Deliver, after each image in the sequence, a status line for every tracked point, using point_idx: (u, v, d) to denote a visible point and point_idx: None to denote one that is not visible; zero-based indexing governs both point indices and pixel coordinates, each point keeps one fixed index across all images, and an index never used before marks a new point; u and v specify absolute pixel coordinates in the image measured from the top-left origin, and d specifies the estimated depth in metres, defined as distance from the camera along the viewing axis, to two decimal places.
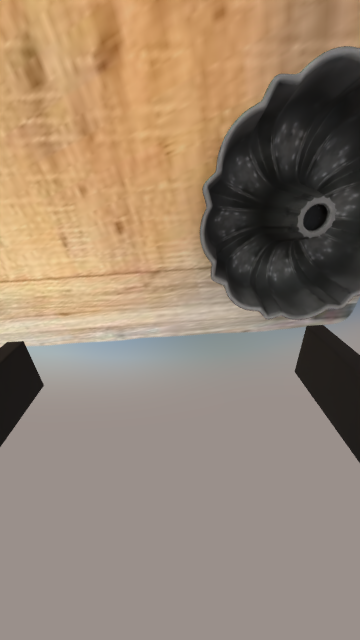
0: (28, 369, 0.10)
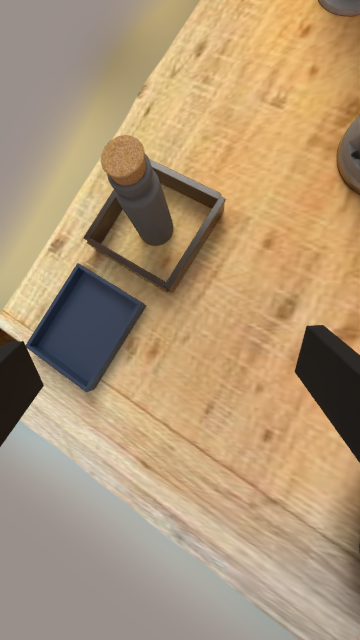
0: (28, 369, 0.10)
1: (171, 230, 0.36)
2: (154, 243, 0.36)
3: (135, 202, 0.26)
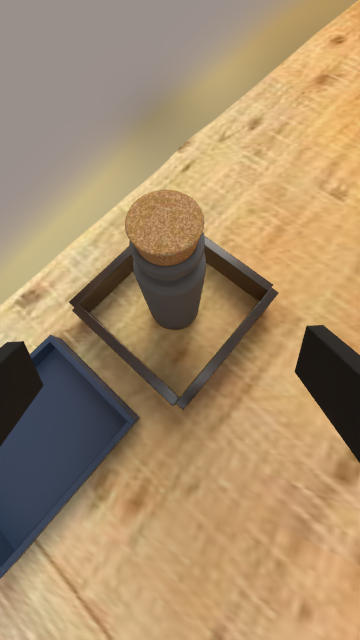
0: (28, 369, 0.10)
1: (195, 315, 0.26)
2: (169, 327, 0.26)
3: (164, 287, 0.16)
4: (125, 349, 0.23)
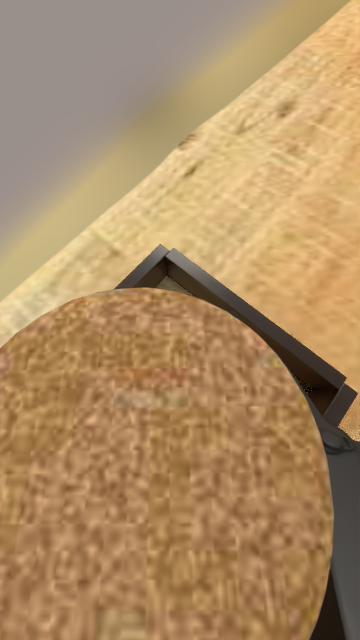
0: None
1: None
2: None
3: None
4: None
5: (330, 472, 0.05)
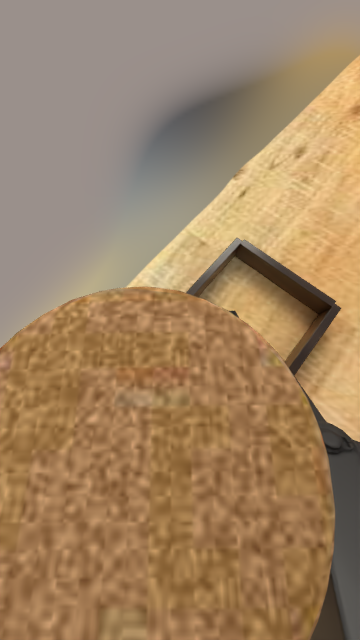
0: None
1: None
2: None
3: None
4: None
5: (330, 472, 0.05)
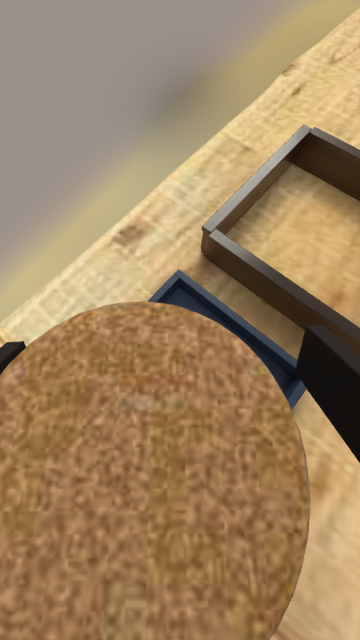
0: None
1: None
2: None
3: None
4: (290, 282, 0.17)
5: None
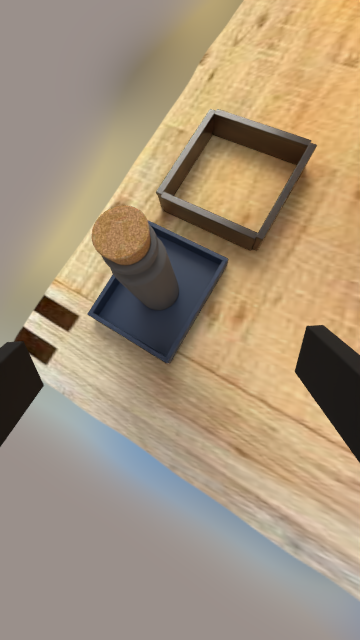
0: (28, 369, 0.10)
1: (177, 294, 0.30)
2: (157, 308, 0.30)
3: (136, 279, 0.21)
4: (208, 212, 0.30)
5: None
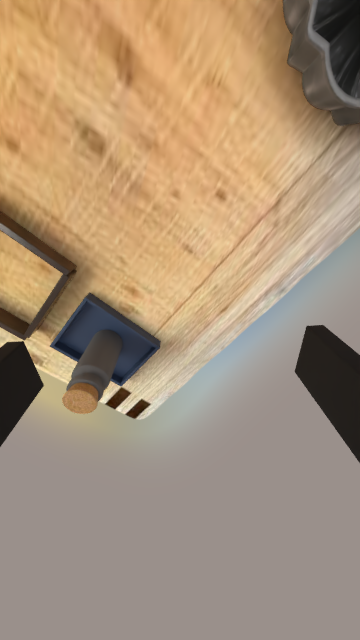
0: (28, 369, 0.10)
1: (111, 333, 0.41)
2: (121, 346, 0.43)
3: (105, 382, 0.34)
4: (43, 306, 0.37)
5: None
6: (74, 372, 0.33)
